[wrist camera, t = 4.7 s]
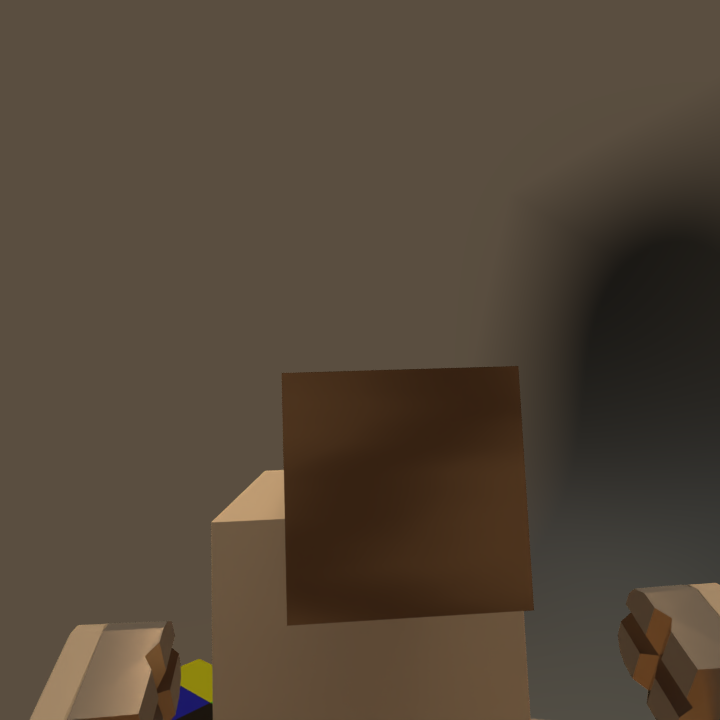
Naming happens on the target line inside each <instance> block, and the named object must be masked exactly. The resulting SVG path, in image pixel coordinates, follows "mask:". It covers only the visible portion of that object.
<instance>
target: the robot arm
mask: <svg viewBox="0 0 720 720" xmlns="http://www.w3.org/2000/svg"><path fill="white" fill-rule="evenodd" d="M626 605H627V606H628V608H629V609H630V611H631V613H630V614H629V615H628V616H627V617H626V618H625V619H623V620H622V621H621V624H620V628H619V633H618V640H619V647H620V653H621V655H622V658H623V661H624V664H625V666H626V667H627V669H628V671H629V673H630V675H631V676H632V678H633V679H634V680H635V681H637V682H638V683H639V684H641V685H642V686H643V687H645V688H646V689H647V690H648V696H647V705H648V707H649V708H650V710H651V712H652V713H653V715H654V717H655V719H656V720H720V585H719V584H717V583H709V584H694V585H674V586H661V587H650V588H638V589H634V590H632V591H631V592H630V593H629V596H628V599H627V602H626ZM174 637H175V633H174V629H173V625H172V622H171V621H160V622H159V621H158V622H133V623H109V624H93V625H78V626H77V627H76V628H75V629H74V630H73V632H72V633H71V634H70V635H69V637H68V639H67V641H66V643H65V646H64V648H63V650H62V652H61V654H60V656H59V658H58V660H57V663H56V665H55V667H54V669H53V671H52V673H51V675H50V677H49V680H48V682H47V684H46V686H45V688H44V690H43V692H42V694H41V696H40V699H39V701H38V703H37V705H36V707H35V710H34V711H33V714H32V716H31V718H30V720H171V719H172V718H173V717H174V716H175V714H176V710H177V705H178V700H179V694H180V684H181V663H180V658H179V653H177V652H176V651H175V650H174V649H172V645H173V641H174Z"/></svg>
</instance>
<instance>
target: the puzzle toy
mask: <svg viewBox="0 0 720 720" xmlns="http://www.w3.org/2000/svg"><path fill="white" fill-rule="evenodd" d="M171 720H213V686H212V665H211V664H209V663H207V662H205V661H203V660H201V659H198V660H195V661H193V662H190V663H188V664H186V665H183V666H181V684H180V694H179V700H178V705H177V710H176V714H175V716H174V717H173V718H172V719H171Z"/></svg>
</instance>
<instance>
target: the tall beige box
mask: <svg viewBox="0 0 720 720" xmlns="http://www.w3.org/2000/svg"><path fill="white" fill-rule="evenodd" d="M211 544H212V545H211V555H212V556H211V557H212V686H213V720H530V704H529V688H528V674H527V657H526V642H525V625H524V611H515V612H499V613H483V614H467V615H450V616H434V617H418V618H402V619H386V620H370V621H354V622H338V623H322V624H306V625H290V626H287V600H286V552H285V504H284V470H274V471H264V472H263V473H262V474H261V475H260V476H259V477H258V478H257V479H256V480H255V481H254V482H253V483H252V484H251V485H250V486H249V487H248V488H247V489H246V490H245V491H243V492H242V493H241V494H240V495H239V496H238V497H237V498H236V499H235V500H234V501H233V502H232V503H231V504H230V505H229V506H228V507H227V508H226V509H225V510H224V511H223V512H222V513H221V514H219V515H218V517H216V518H215V519H214V520H213V521H212V522H211Z"/></svg>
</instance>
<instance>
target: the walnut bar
mask: <svg viewBox="0 0 720 720" xmlns="http://www.w3.org/2000/svg"><path fill="white" fill-rule="evenodd" d="M282 407H283V408H282V409H283V452H284V453H283V455H284V456H283V457H284V504H285V552H286V600H287V626H290V625H306V624H322V623H338V622H354V621H370V620H386V619H402V618H418V617H434V616H450V615H467V614H483V613H499V612H515V611H530V610H534V606H533V605H534V604H533V589H532V573H531V558H530V544H529V543H530V542H529V526H528V511H527V496H526V480H525V465H524V449H523V433H522V419H521V418H522V417H521V402H520V386H519V371H518V366H509V367H507V366H506V367H473V368H441V369H407V370H406V369H405V370H375V371H374V370H371V371H340V372H339V371H338V372H306V373H305V372H304V373H282Z"/></svg>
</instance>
